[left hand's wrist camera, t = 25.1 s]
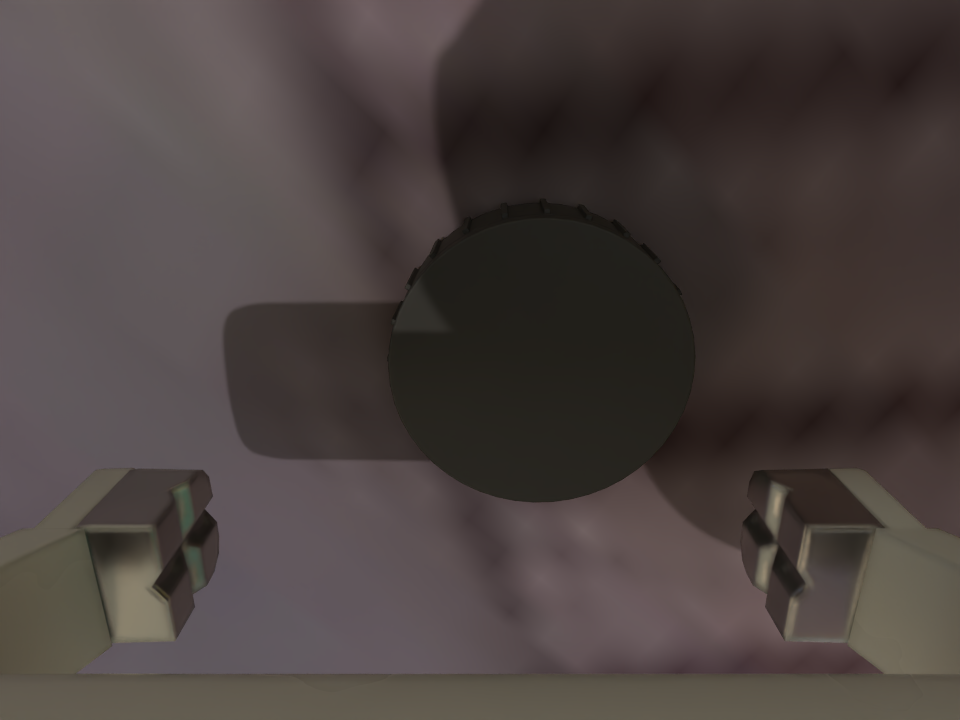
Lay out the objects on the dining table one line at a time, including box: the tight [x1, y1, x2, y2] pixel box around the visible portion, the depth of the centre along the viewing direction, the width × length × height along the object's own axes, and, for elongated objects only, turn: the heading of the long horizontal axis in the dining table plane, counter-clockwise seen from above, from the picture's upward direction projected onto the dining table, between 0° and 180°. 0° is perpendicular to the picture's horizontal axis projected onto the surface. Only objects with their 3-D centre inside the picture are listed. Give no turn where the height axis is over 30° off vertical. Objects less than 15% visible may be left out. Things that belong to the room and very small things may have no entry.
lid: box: [387, 199, 695, 502], centre depth 13 cm, size 6×6×2 cm
